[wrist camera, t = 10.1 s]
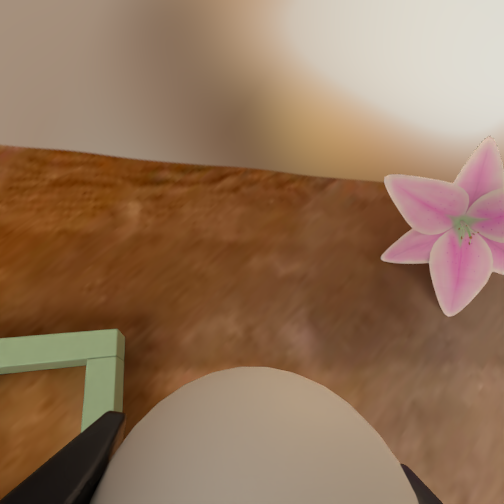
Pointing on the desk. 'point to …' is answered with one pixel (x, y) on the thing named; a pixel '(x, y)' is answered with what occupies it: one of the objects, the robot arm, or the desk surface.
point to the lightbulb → (253, 447)
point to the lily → (453, 226)
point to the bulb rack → (74, 364)
